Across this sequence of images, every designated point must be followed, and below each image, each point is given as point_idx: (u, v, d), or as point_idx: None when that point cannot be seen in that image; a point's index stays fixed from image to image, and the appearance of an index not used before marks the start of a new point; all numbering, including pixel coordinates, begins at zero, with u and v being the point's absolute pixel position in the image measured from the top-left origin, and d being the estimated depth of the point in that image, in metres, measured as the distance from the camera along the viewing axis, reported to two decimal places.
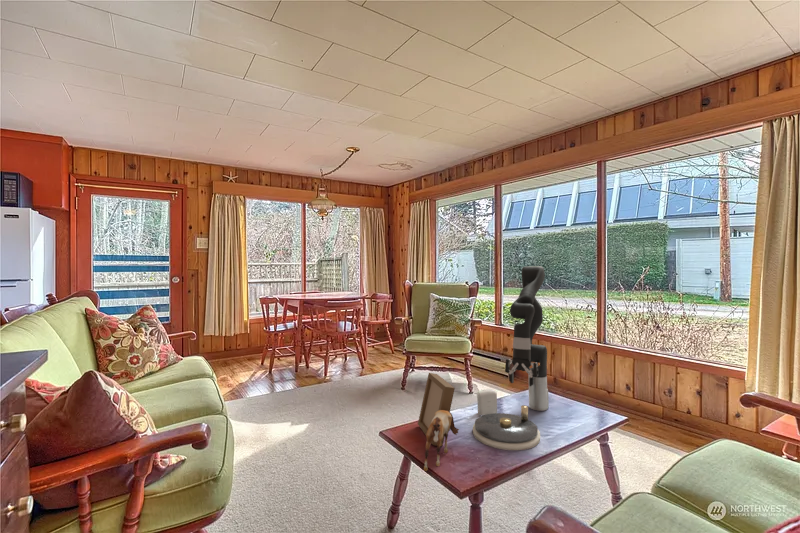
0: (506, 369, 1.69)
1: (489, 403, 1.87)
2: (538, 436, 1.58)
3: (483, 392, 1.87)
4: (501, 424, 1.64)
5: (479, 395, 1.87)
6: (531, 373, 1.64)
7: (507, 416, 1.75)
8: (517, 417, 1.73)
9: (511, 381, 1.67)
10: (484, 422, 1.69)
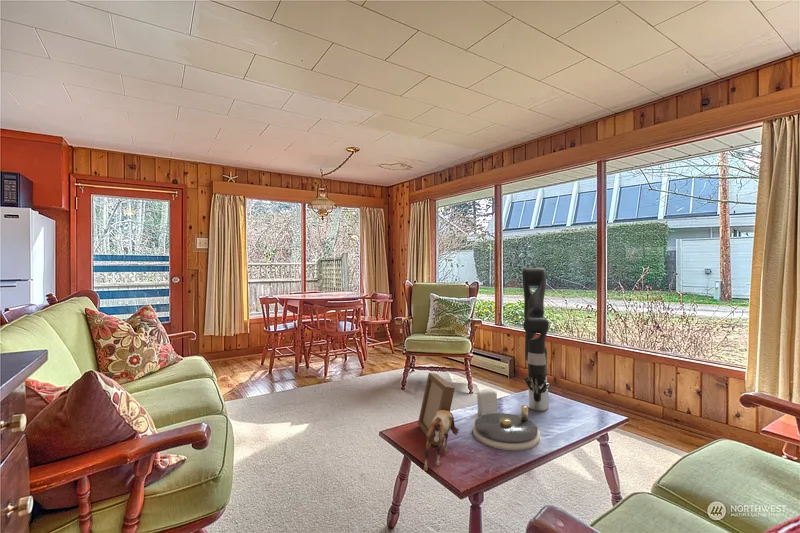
0: (530, 387, 1.66)
1: (489, 403, 1.87)
2: (538, 436, 1.58)
3: (483, 392, 1.87)
4: (501, 424, 1.64)
5: (479, 395, 1.87)
6: (540, 389, 1.64)
7: (507, 416, 1.75)
8: (517, 417, 1.73)
9: (535, 399, 1.64)
10: (484, 422, 1.69)
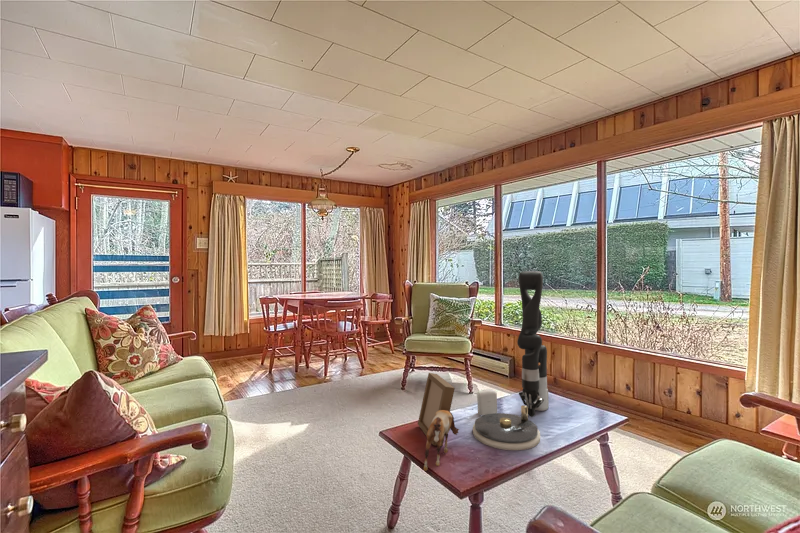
0: (524, 402, 1.70)
1: (489, 403, 1.87)
2: (538, 436, 1.58)
3: (483, 392, 1.87)
4: (501, 424, 1.64)
5: (479, 395, 1.87)
6: (534, 404, 1.67)
7: (507, 416, 1.75)
8: (517, 417, 1.73)
9: (529, 414, 1.67)
10: (484, 422, 1.69)
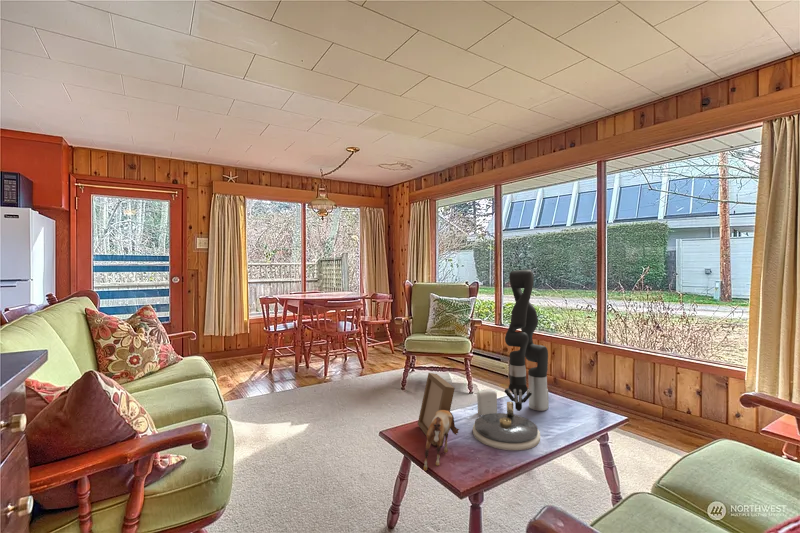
0: (512, 398, 1.75)
1: (489, 403, 1.87)
2: (538, 436, 1.58)
3: (483, 392, 1.87)
4: (504, 425, 1.63)
5: (479, 395, 1.87)
6: None
7: (494, 416, 1.75)
8: (502, 415, 1.77)
9: (517, 409, 1.74)
10: (486, 427, 1.63)
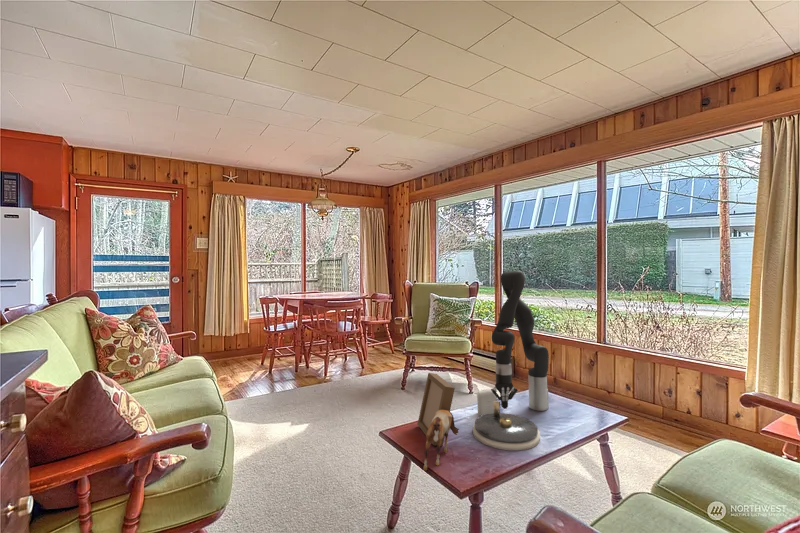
0: (499, 397, 1.76)
1: (489, 403, 1.87)
2: (538, 436, 1.58)
3: (483, 392, 1.87)
4: (507, 425, 1.63)
5: (479, 395, 1.87)
6: None
7: (486, 418, 1.73)
8: (490, 415, 1.76)
9: (504, 407, 1.77)
10: (494, 432, 1.59)
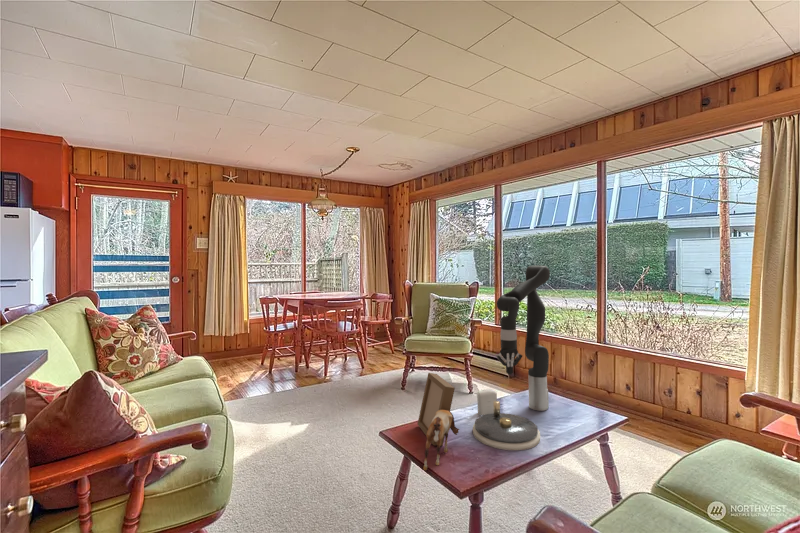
0: (504, 363, 1.77)
1: (489, 403, 1.87)
2: (538, 436, 1.58)
3: (483, 392, 1.87)
4: (507, 425, 1.63)
5: (479, 395, 1.87)
6: None
7: (486, 418, 1.73)
8: (490, 415, 1.76)
9: (509, 373, 1.77)
10: (494, 432, 1.59)
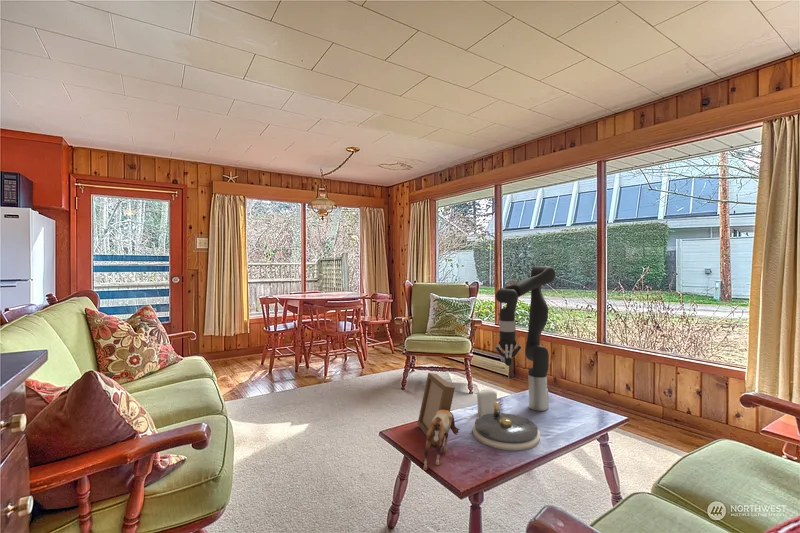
0: (503, 354, 1.79)
1: (489, 403, 1.87)
2: (538, 436, 1.58)
3: (483, 392, 1.87)
4: (507, 425, 1.63)
5: (479, 395, 1.87)
6: None
7: (486, 418, 1.73)
8: (490, 415, 1.76)
9: (508, 364, 1.79)
10: (494, 432, 1.59)
